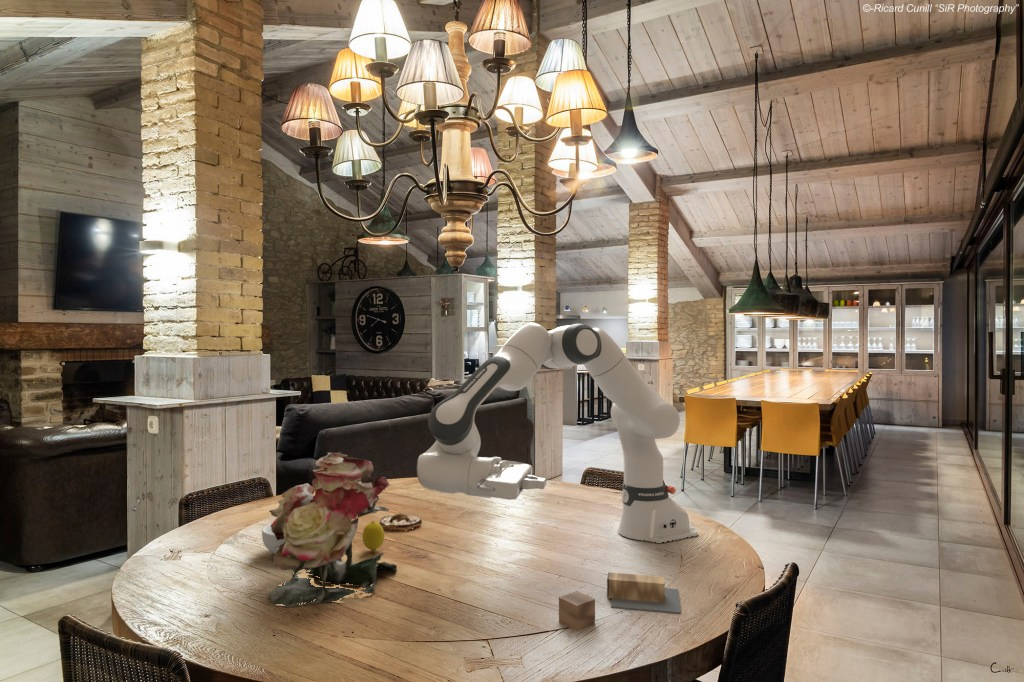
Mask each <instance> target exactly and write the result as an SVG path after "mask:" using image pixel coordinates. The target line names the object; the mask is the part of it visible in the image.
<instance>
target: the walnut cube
mask: <svg viewBox="0 0 1024 682" xmlns="http://www.w3.org/2000/svg"><path fill="white" fill-rule="evenodd" d="M558 623H560V624H561V625H563V626H565V627H567V628H569V629H571V630H573V631H574V632H579V631H582V630H584V629H586V628H588V627H592V626H593V625H595V624H596V598H593V597H592V596H589V595H587V594H585V593H583V592H581V591H578V590H577V591H573V592H569V593H568V594H564V595H562V596H558Z"/></svg>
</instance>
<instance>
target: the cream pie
mask: <svg viewBox="0 0 1024 682" xmlns="http://www.w3.org/2000/svg"><path fill="white" fill-rule="evenodd" d="M422 523H423V520H422V519H421V518H420V516H418V515H416V514H415V513H410V512H409V513H402V512H398V513H396V514H391V515H390V514H388V515H386V516H384V515H383V517H381V518H380V521H379V524H380V525H381V526H382V528H384V529H387V530H386V531H388V530H391V531H390V532H400V531H401V532H406V531H405V530H409V529H412V528H415V527H418V526H419V527H421V525H422ZM419 527H418V528H419ZM384 529H383V530H384ZM412 530H413V529H412ZM409 531H410V530H409Z"/></svg>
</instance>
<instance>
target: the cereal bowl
mask: <svg viewBox="0 0 1024 682" xmlns="http://www.w3.org/2000/svg"><path fill="white" fill-rule="evenodd" d="M271 524H272V523H270V524H268V525H265V526H264V527H263V528H262V530H261V537H262V542H263V545H264V547H265V548H266V549H267V550H268V551H269V552H271V553H273V554H276V552H277V551H278V550H279V547H277V546H280V545H282V544H283V543H285V541H286V540H285V539H283V540H277V538H276V536H275V534H274V533H273V532H272V531H271V529H272V528H271ZM274 547H276V548H274ZM287 557H291V556H290V555H288V556H287Z"/></svg>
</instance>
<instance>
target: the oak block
mask: <svg viewBox="0 0 1024 682" xmlns="http://www.w3.org/2000/svg"><path fill="white" fill-rule="evenodd" d="M665 583H666V582H665V576H658V575H646V574H645V575H644V574H632V573H621V572H607V577H606V598H607V599H612V598H615V599H626V600H638V601H649V602H660V603H665V588H666V587H665Z"/></svg>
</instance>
